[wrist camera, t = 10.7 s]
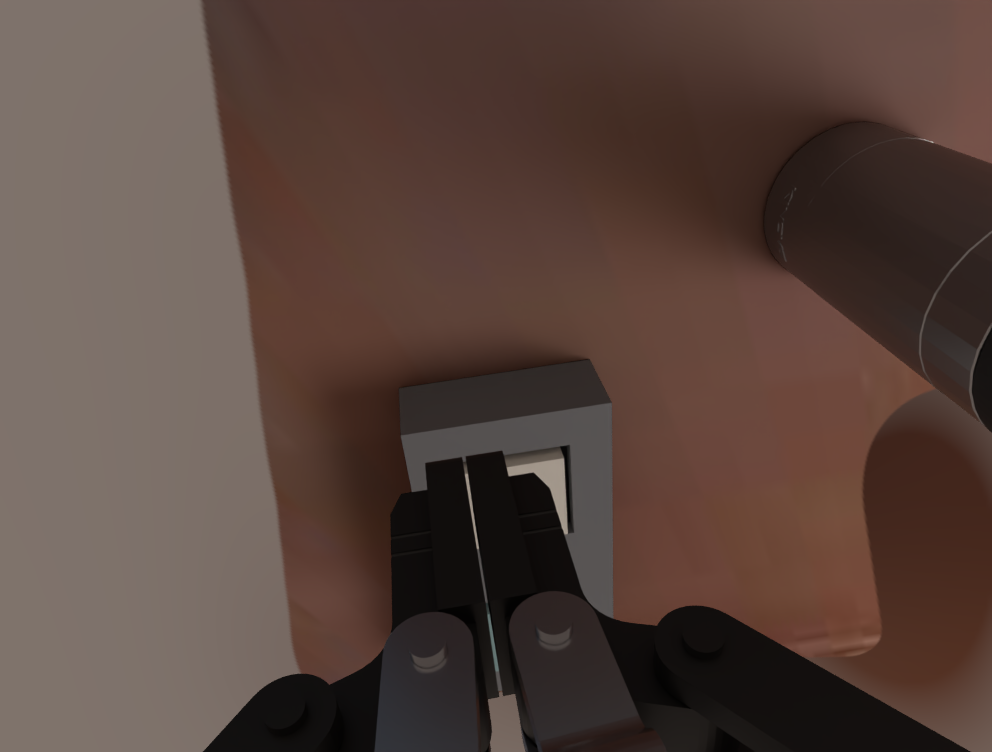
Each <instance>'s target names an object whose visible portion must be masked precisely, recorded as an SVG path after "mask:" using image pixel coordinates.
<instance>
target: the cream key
mask: <svg viewBox="0 0 992 752" xmlns="http://www.w3.org/2000/svg"><path fill="white" fill-rule="evenodd" d="M504 458H505V463H506V467H507V471H508V475H509V476H514V475H520V474H526V473H532V472H534V473H535V474H536V475H537V476H538V477H539V478H540V479H541V480H542V481H543V482H544V483H545V484H546V485H547V486H548V487H549V488H550V490H551V493H552V496H553V500H554V503H555V506H556V510H557V512H558V516H559V519H560V522H561V526H562V529H563V532H564V534H568V527H567V507H566V488H565V468H564V457H563V454H562V451H561V449H560V446H559V447H553V448H547V449H540V450H534V451H528V452H521V453H515V454H509V455H504ZM463 465H464V472H465V478H466V484H467V490H468V496H469V503H470V509H471V515H472V521H473V527H474V534H475V540H476V546H477V549H479V546H478V540H477V533H476V527H475V520H474V513H473V506H472V499H471V492H470V485H469V478H468V472H467V465H466V461H465V462H463Z"/></svg>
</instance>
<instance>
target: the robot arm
mask: <svg viewBox="0 0 992 752" xmlns="http://www.w3.org/2000/svg"><path fill="white" fill-rule="evenodd" d="M764 231H765V236H766V240H767V245H768V247H769V249H770V251H771V252H772V254H773V256H774V258H775V259H776V260H777V261H778V262H779V263H780V264H781V265H782V266H783V267H784V268H785V269H787V270H788V271H789V272H790V273H792V274H793V275H794V276H795V277H797V278H798V279H799V280H800V281H802V282H803V283H804V284H805V285H807V286H808V287H809V288H810V289H812V290H813V291H814V292H815V293H816V294H818V295H819V296H820V297H821V298H823V299H824V300H825V301H826V302H828V303H829V304H830V305H831V306H833V307H834V308H835V309H836V310H838V311H839V312H840V313H842V314H843V315H844V316H845V317H847V318H848V319H849V320H850V321H852V322H853V323H854V324H855V325H857V326H858V327H859V328H861V329H862V330H863V331H864V332H866V333H867V334H868V335H869V336H871V337H872V338H873V339H874V340H876V341H877V342H878V343H879V344H881V345H882V346H883V347H885V348H886V349H887V350H888V351H890V352H891V353H892V354H893V355H895V356H896V357H897V358H898V359H900V360H901V361H902V362H904V363H905V364H906V365H907V366H909V367H910V368H911V369H912V370H914V371H915V372H916V373H917V374H919V375H920V376H921V377H922V378H924V379H925V380H926V381H928V382H929V383H930V384H931V385H933V386H934V387H935V388H936V389H938V390H939V391H940V392H941V393H943V394H944V395H946V396H947V397H948V398H949V399H951V400H952V401H953V402H955V403H956V404H957V405H958V406H960V407H961V408H962V409H963V410H965V411H966V412H967V413H968V414H970V415H971V416H972V417H973V418H975V419H976V420H977V421H979V422H980V423H981V424H982V425H984V426H985V427H986V428H987V429H988V430H989V431H991V432H992V164H991V163H988V162H986V161H983V160H980V159H977V158H974V157H972V156H969V155H966V154H963V153H960V152H957V151H955V150H952V149H949V148H946V147H943V146H941V145H938V144H935V143H933V142H930V141H927V140H924V139H921V138H919V137H916V136H913V135H910V134H907V133H904V132H902V131H899V130H896V129H893V128H890V127H887V126H885V125H882V124H879V123H870V122H857V123H848V124H844V125H841V126H838V127H835V128H832V129H829V130H828V131H826V132H824V133H822V134H821V135H819V136H817V137H815V138H813V139H812V140H811V141H810V142H808V143H807V144H806V145H805V146H803V147H802V148H801V149H800V150H798V151H797V153H796V154H795V155H794V156H793V157H792V158H791V159H790V160H789V162H788V163H787V164H786V165H785V166H784V168H783V169H782V171H781V173H780V174H779V176H778V177H777V179H776V181H775V182H774V185H773V187H772V190H771V192H770V194H769V197H768V200H767V205H766V210H765V214H764ZM465 457H466V465H467V472H468V478H469V485H470V492H471V499H472V506H473V513H474V520H475V527H476V533H477V540H478V546H479V552H480V558H481V564H482V570H483V576H484V583H485V589H486V595H487V601H488V607H489V613H490V619H491V625H492V631H493V637H494V643H495V649H496V656H497V662H498V668H499V674H500V680H501V686H502V692H503V696H505V695H511V694H515V695H516V700H517V706H518V711H519V717H520V724H521V733H522V739H523V744H524V748H525V752H970V751H968V750H967V749H965V748H963V747H961V746H959V745H957V744H956V743H954V742H952V741H951V740H949V739H947V738H945V737H944V736H941V735H940V734H938V733H936V732H935V731H933V730H931V729H929V728H927V727H926V726H924V725H922V724H921V723H919V722H917V721H915V720H913V719H912V718H910V717H908V716H906V715H904V714H903V713H901V712H899V711H897V710H896V709H894V708H892V707H890V706H888V705H887V704H885V703H883V702H881V701H880V700H878V699H876V698H874V697H873V696H871V695H869V694H867V693H866V692H864V691H862V690H860V689H859V688H856V687H855V686H853V685H851V684H850V683H848V682H846V681H844V680H843V679H841V678H839V677H837V676H836V675H834V674H832V673H830V672H828V671H827V670H825V669H823V668H821V667H819V666H818V665H816V664H814V663H812V662H811V661H809V660H807V659H805V658H804V657H802V656H800V655H798V654H797V653H795V652H793V651H791V650H789V649H788V648H786V647H784V646H782V645H781V644H779V643H777V642H775V641H774V640H772V639H770V638H768V637H766V636H765V635H763V634H761V633H759V632H758V631H756V630H754V629H752V628H750V627H749V626H747V625H745V624H743V623H742V622H740V621H738V620H736V619H735V618H733V617H731V616H729V615H727V614H726V613H723V612H721V611H719V610H717V609H714V608H710V607H705V606H685V607H681V608H678V609H675V610H673V611H671V612H670V613H668V614H667V615H665V616H664V617H663V618H662V619H661V621H660V622H659V624H658V626H654V625H645V624H635V623H628V622H622V621H619V620H615V619H613V618H610V617H608V616H606V615H604V614H603V613H601V612H599V611H598V610H597V609H596V608H594V607H593V606H592V605H591V604H590V603H589V601H588V600H587V599H586V597H585V596H584V594H583V591H582V589H581V586H580V583H579V579H578V576H577V573H576V570H575V567H574V563H573V560H572V557H571V554H570V551H569V547H568V544H567V541H566V538H565V535H564V532H563V529H562V526H561V522H560V519H559V516H558V512H557V510H556V506H555V503H554V500H553V496H552V493H551V490H550V488H549V487H548V486H547V485H546V484H545V483H544V482H543V481H542V480H541V479H540V478H539V477H538V476H537V475H536V474H535V473H534V472H532V473H526V474H520V475H514V476H509V475H508V471H507V467H506V463H505V458H504V454H503V451H495V452H489V453H483V454H476V455H470V456H465ZM425 470H426V481H427V490H422V491H416V492H410V493H404V494H401V495H400V497H399V499H398V501H397V503H396V505H395V507H394V509H393V511H392V513H391V555H392V558H391V568H392V630H391V634H390V636H389V637H388V639H387V641H386V643H385V646H384V648H383V650H382V651H381V652H380V654H379V655H378V656H377V657H376V658H375V659H374V660H373V661H372V662H371V663H369V664H368V665H366V666H365V667H364V668H362V669H360V670H359V671H357V672H355V673H353V674H351V675H349V676H347V677H345V678H343V679H341V680H339V681H337V682H334V683H332V684H330V685H329V684H328V683H327V682H326V681H324V680H323V679H321V678H319V677H317V676H314V675H309V674H294V675H289V676H285V677H282V678H280V679H277V680H275V681H273V682H271V683H270V684H268V685H266V686H265V687H264V688H262V689H261V690H260V691H259V692H258V693H257V694H256V695H255V696H253V698H252V699H251V700H250V701H249V702H248V703H247V704H246V705H245V706H244V707H243V708H242V710H241V711H240V712H239V713H238V714H237V715H236V716H235V717H234V718H233V719H232V721H231V722H230V723H229V724H228V725H227V726H226V727H225V728H224V729H223V730H222V732H221V733H220V734H219V735H218V736H217V737H216V738H215V739H214V740H213V741H212V743H211V744H210V745H209V746H208V747H207V748H206V749H205V750H204V751H203V752H491V746H490V740H491V733H492V727H491V719H490V713H489V705H488V699H491V698H496V697H499V692H498V685H497V678H496V671H495V664H494V657H493V651H492V644H491V637H490V630H489V623H488V616H487V609H486V602H485V596H484V590H483V583H482V577H481V571H480V565H479V559H478V552H477V546H476V540H475V534H474V527H473V521H472V515H471V509H470V503H469V496H468V490H467V484H466V478H465V472H464V465H463V459H462V457H459V458H452V459H446V460H440V461H433V462H427V463H425Z"/></svg>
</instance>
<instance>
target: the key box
mask: <svg viewBox="0 0 992 752" xmlns="http://www.w3.org/2000/svg"><path fill="white" fill-rule="evenodd" d="M399 407H400V430H401V439H402V444H403V449H404V454H405V459H406V464H407V469H408V474H409V479H410V484H411V490H412V492H416V491H422V490H427V481H426V470H425V463H427V462H433V461H440V460H446V459H452V458H459V457H462V459H463V462H465V461H466V457H465V456H470V455H476V454H483V453H489V452H495V451H503V454H504V455H509V454H515V453H521V452H528V451H534V450H540V449H547V448H553V447H559V446H560V449H561V451H562V454H563V457H564V468H565V488H566V507H567V527H568V534H564V535H565V538H566V541H567V544H568V547H569V551H570V554H571V557H572V560H573V563H574V567H575V570H576V573H577V576H578V579H579V583H580V586H581V589H582V591H583V594H584V596H585V597H586V599H587V600H588V601H589V603H590V604H591V605H592V606H593V607H594V608H596V609H597V610H598V611H599V612H601V613H603V614H604V615H606V616H608V617H610V618H613V518H612V402H611V400H610V398H609V396H608V394H607V392H606V390H605V388H604V386H603V384H602V383H601V381H600V379H599V377H598V375H597V373H596V371H595V369H594V367H593V365H592V363H591V361H590V359H589V360H582V361H576V362H569V363H562V364H556V365H549V366H542V367H536V368H529V369H523V370H516V371H509V372H503V373H496V374H489V375H483V376H476V377H470V378H463V379H456V380H450V381H443V382H436V383H430V384H423V385H416V386H410V387H403V388H399ZM477 552H478V559H479V565H480V571H481V577H482V583H483V590H484V596H485V602H486V603H488V601H487V595H486V589H485V583H484V576H483V570H482V564H481V558H480V552H479V549H477ZM496 678H497V685H498V691H502V686H501V680H500V674H499V671H497V672H496Z"/></svg>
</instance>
